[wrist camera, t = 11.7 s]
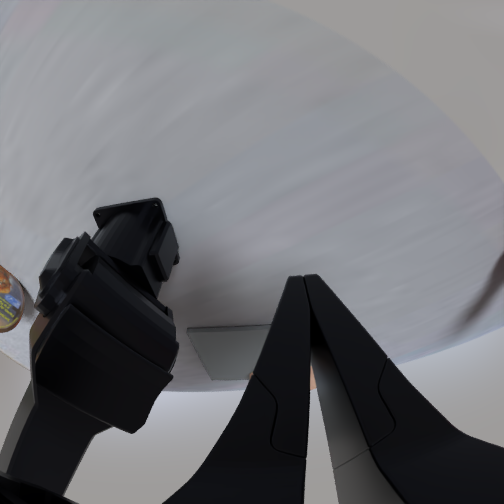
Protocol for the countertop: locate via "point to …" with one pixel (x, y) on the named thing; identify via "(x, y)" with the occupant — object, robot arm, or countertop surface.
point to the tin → (10, 301)
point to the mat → (229, 350)
